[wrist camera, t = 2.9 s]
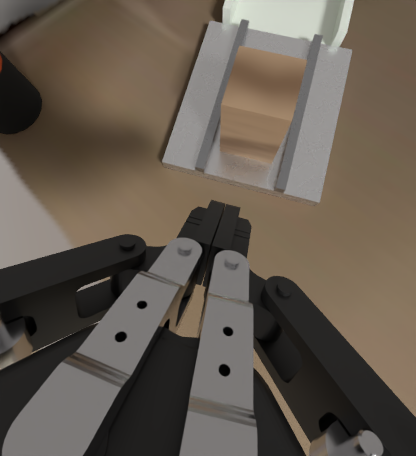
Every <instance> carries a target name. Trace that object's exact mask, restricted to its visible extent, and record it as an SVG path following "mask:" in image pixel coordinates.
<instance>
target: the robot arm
mask: <svg viewBox="0 0 416 456" xmlns="http://www.w3.org/2000/svg"><path fill="white" fill-rule="evenodd" d="M224 208H225V210H224ZM239 211H240V207H236V206H232V205H229V204H226V207H225V203H221V202H217V201H214V200H211V202H210V204H209V206H208V208H207V209H206V208H202V207H197V208H195V209H194V210H192V211H191V213H190V215H189V217H188V218H187V220H186V222H185V224H184V226H183V227H182V229H181V231H180V233H179V234H178V236H177V238H176V239H173V240H172V241H170V242H169V244H168V245H166V246H161V247H152V246H146V243H145V241H144V240H143V239H142V238H140V237H138V236H136V235H130V234H125V235H120V236H116V237H113V238H109V239H105V240H102V241H98V242H95V243H91V244H88V245H84V246H81V247H77V248H74V249H70V250H67V251H63V252H60V253H56V254H52V255H49V256H45V257H42V258H38V259H35V260H31V261H28V262H24V263H21V264H18V265H14V266H10V267H7V268H3V269H0V456H306V454H305V453H304V451H303V449H302V447H301V445H300V443H299V441H298V440H297V438H296V436H295V434H294V432H293V430H292V429H291V427H290V425H289V423H288V421H287V419H286V417H285V416H284V414H283V412H282V410H281V408H280V406H279V405H278V403H277V401H276V399H275V397H274V395H273V393H272V392H271V390H270V388H269V386H268V385H267V383H266V382H265V380H264V379H263V378H262V376H261V375H260V374H259V373H258V372H257V371H256V370H255V369H254V368H253V348H254V349H255V351H256V353H257V354H258V356H259V358H260V359H261V361H262V363H263V364H264V366H265V368H266V369H267V371H268V373H269V374H270V376H271V378H272V379H273V381H274V383H275V384H276V386H277V388H278V389H279V391H280V393H281V394H282V396H283V398H284V399H285V401H286V403H287V404H288V406H289V408H290V409H291V411H292V413H293V414H294V416H295V418H296V419H297V421H298V423H299V424H300V426H301V428H302V429H303V431H304V433H305V434H306V436H307V438H308V439H309V441H310V443H311V445H310V450H309V456H416V417H415V416H414V415H413V414H412V413H411V412H410V411H409V409H408V408H407V407H406V406H405V405H404V404H403V403H402V402H401V401H400V399H399V398H398V397H397V396H396V395H395V394H394V393H393V392H392V390H391V389H390V388H389V387H388V386H387V385H386V384H385V383H384V382H383V380H382V379H381V378H380V377H379V376H378V375H377V374H376V373H375V372H374V370H373V369H372V368H371V367H370V366H369V365H368V364H367V363H366V361H365V360H364V359H363V358H362V357H361V356H360V355H359V354H358V353H357V351H356V350H355V349H354V348H353V347H352V346H351V345H350V344H349V342H348V341H347V340H346V339H345V338H344V337H343V336H342V335H341V334H340V332H339V331H338V330H337V329H336V328H335V327H334V326H333V325H332V324H331V322H330V321H329V320H328V319H327V318H326V317H325V316H324V315H323V313H322V312H321V311H320V310H319V309H318V308H317V307H316V306H315V305H314V303H313V302H312V301H311V300H310V299H309V298H308V297H307V296H306V295H305V293H304V292H303V291H302V290H301V289H300V288H299V287H298V286H297V285H296V284H295V283H294V282H293V281H291V280H289V279H287V278H285V277H281V276H273V277H270V278H268V279H267V281H266V280H264V279H263V278H261V277H259V276H257V275H256V274H255V273H253V272H252V271H251V270H250V268H249V262H248V260H247V253H248V246H249V239H250V233H251V225H250V223H249V221H248V220H247V219H243V218H239V217H238V216H239ZM205 272H206V273H205ZM204 275H205V277H204ZM109 276H110V279H109V280H107V281H104V282H101V283H99V284H96V285H94V286H91V287H88V288H86V289H83V290H80V291H78V292H76V291H77V290H78V289H80V288H81V287H83V286H84V285H88V284H90V283H93V282H96V281H98V280H101V279H104V278H106V277H109ZM203 278H204V281H203ZM202 281H203V285H202V286H204V287H206V288H205V292H204V303H203V308H202V312H201V317H200V322H199V327H198V332H197V337H196V338H193V337H181V336H179V335H177V334H176V332H177V330H178V328H179V325H180V323H181V321H182V319H183V317H184V315H185V313H186V310H187V308H188V306H189V304H190V302H191V300H192V296H193V292H194V288H195V285H196V284H198V285H201V284H202ZM100 320H101V321H100ZM98 321H100V322H99V323H96V322H98ZM94 323H96V324H94ZM92 324H93V325H92ZM90 325H91V326H90ZM85 327H86V328H85ZM72 333H73V334H72ZM70 334H71V335H70ZM68 335H69V336H68ZM66 336H67V337H66ZM64 337H65V338H64ZM61 338H63V339H61ZM59 339H61V340H59ZM57 340H59V341H57ZM55 341H57V342H56V343H53V342H55ZM51 343H53V344H51ZM49 344H51V345H49ZM46 345H49V346H47V347H45V348H43V349H41V350H39V351H37V352H35V353H33V354H31V353H32V352H34V351H36V350H38V349H40V348H42V347H44V346H46ZM30 354H31V355H30Z"/></svg>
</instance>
